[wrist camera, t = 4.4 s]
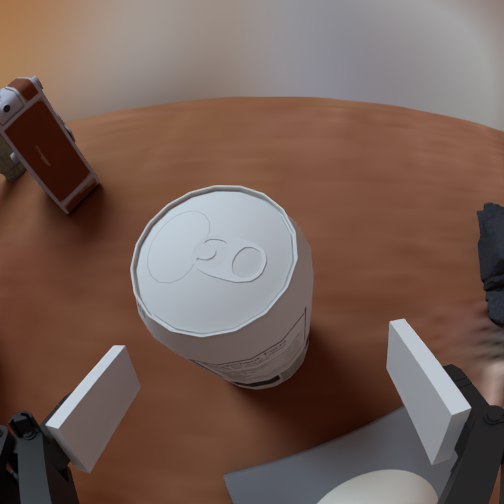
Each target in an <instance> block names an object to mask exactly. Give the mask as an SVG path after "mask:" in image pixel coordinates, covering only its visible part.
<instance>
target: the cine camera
mask: <svg viewBox="0 0 504 504" xmlns="http://www.w3.org/2000/svg"><path fill="white" fill-rule="evenodd" d="M42 89H43V87H42V85H41V83H40V81H39V80H38V78H37V77H36V76H34V77H33V78H16V79H15V80H14V81H13V82H11V83H10V84H9V85H8V86H6V87H5V88H2V89H1V90H0V135H1V136H2V138H3V139H4V140H5V142H6V143H7V145H8V146H9V147H10V149H11V150H12V151H13V153H12V154H11V155H10V156H11V159H12V160H13V161H14V163H15V164H16V163H17V162H18V161H19V160H20V161H21V163H22V164H23V165H24V166H25V168H26V169H27V170H28V171H29V173H30V174H31V175H32V176H33V178H34V179H35V180H36V181H37V182H38V184H39V185H40V186H41V187H42V188H43V189H44V191H45V192H46V193H47V194H48V195H49V196H50V198H51V199H52V200H53V201H54V202H55V203H56V204H57V205H58V206H59V208H60V209H61V210H62V211H64V212H65V213H66V214H68V213H70V212H71V211H72V210H73V209H74V208H75V207H76V206H77V205H78V204H79V203H80V202H81V201H82V200H83V199H84V198H85V197H86V196H87V195H88V194H89V193H90V192H91V191H92V190H93V189H94V188H95V187H96V186H97V185H98V183H99V179H98V177H97V176H96V174H95V173H94V171H93V170H92V168H91V167H90V165H89V164H88V162H87V161H86V159H85V158H84V156H83V155H82V153H81V152H80V150H79V149H78V147H77V146H76V144H75V139H74V136H73V134H72V132H71V131H70V129H69V128H68V127H67V126H66V125H65V124H64V122H63V120H62V119H61V118H60V116H59V115H58V114H57V113H56V112H55V111H54V110H53V108H52V107H51V105H50V103H49V102H48V100H47V98H46V97H45V95H44V93H43V91H42Z"/></svg>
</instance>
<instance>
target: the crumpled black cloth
mask: <svg viewBox="0 0 504 504" xmlns="http://www.w3.org/2000/svg"><path fill="white" fill-rule="evenodd" d="M477 215H478V219H479V227H480V234H481V236H480V239H479V242H478V251H479V260H480V274H481V280H482V282H483V283H484V287H483V288H484V289H486V290H487V292H486V301H487V302H488V310H489V314H488V315H489V317H490V318H491V319H492V320H493V321H494V322H495V323H499V324H502V323H504V207H502V206H500V205H498V204H493V203H486V204H484V210H483V211H477ZM489 288H490V289H489ZM489 290H490V291H489Z"/></svg>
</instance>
